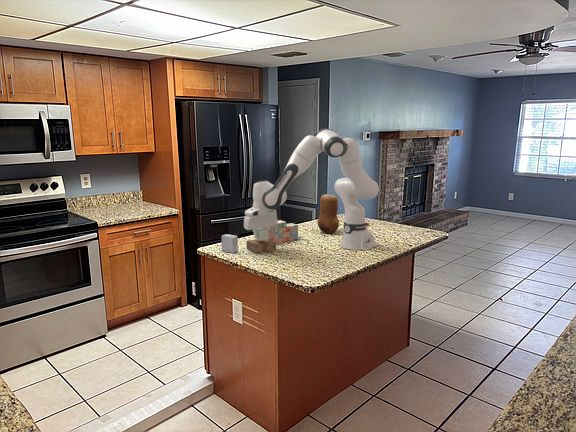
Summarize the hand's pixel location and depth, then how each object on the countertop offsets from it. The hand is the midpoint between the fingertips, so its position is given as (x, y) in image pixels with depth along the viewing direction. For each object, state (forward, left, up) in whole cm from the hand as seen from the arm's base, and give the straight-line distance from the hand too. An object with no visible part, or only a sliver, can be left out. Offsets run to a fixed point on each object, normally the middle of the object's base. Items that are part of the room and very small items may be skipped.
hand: (261, 235), depth 229 cm
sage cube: (0, 0, -2) cm, 2 cm away
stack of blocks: (-20, -8, -8) cm, 24 cm away
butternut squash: (-58, -7, -8) cm, 59 cm away
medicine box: (+15, -8, -8) cm, 19 cm away
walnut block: (0, 0, -8) cm, 9 cm away
